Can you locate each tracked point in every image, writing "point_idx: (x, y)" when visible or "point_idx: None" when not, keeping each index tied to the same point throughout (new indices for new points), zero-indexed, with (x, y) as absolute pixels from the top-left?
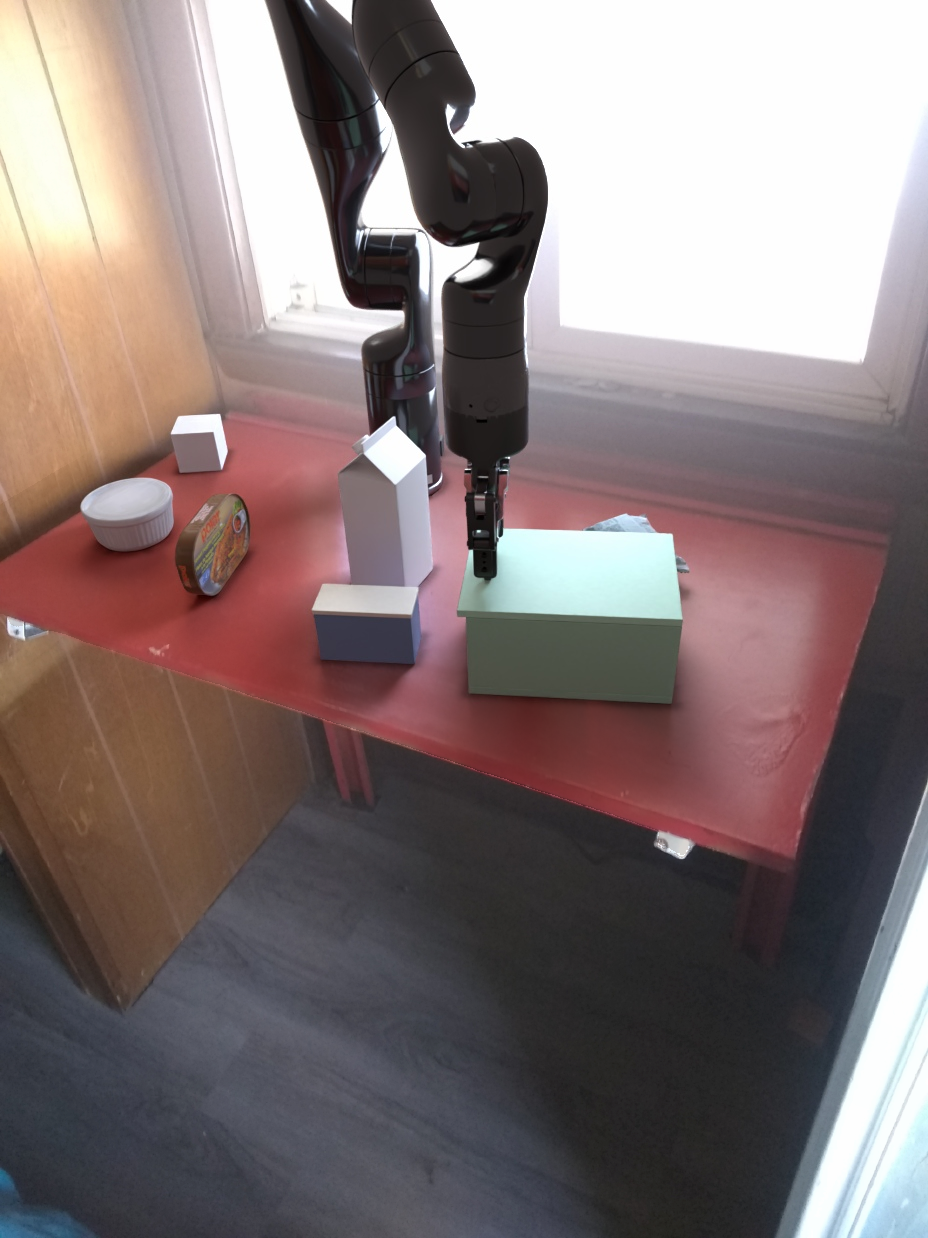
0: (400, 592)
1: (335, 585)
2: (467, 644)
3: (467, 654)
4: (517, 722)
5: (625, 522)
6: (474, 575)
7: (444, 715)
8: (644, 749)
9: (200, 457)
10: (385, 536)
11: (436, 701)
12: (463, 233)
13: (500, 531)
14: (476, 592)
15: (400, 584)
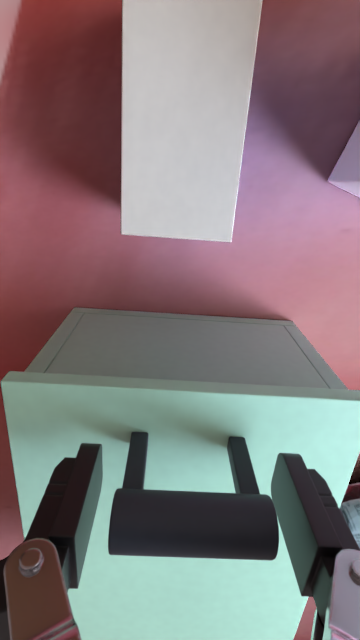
0: (210, 198)
1: None
2: (40, 351)
3: (48, 340)
4: (25, 369)
5: None
6: (82, 443)
7: (21, 274)
8: (8, 488)
9: None
10: None
11: (50, 260)
12: None
13: (276, 501)
14: (78, 418)
15: (347, 172)
